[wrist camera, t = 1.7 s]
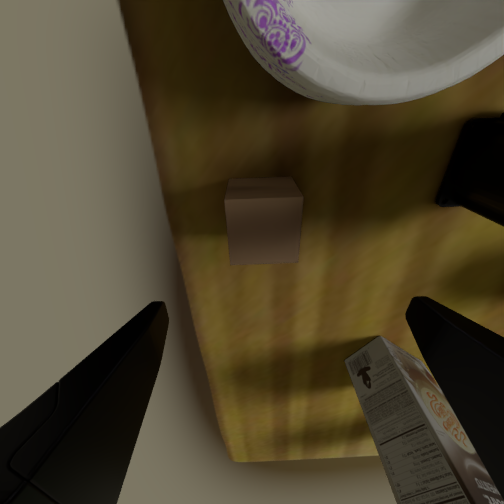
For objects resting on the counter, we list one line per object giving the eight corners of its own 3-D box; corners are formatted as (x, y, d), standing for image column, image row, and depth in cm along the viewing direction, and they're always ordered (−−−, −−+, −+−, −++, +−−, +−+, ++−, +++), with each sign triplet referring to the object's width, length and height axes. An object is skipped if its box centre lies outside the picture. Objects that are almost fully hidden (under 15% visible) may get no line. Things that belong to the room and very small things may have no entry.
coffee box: (423, 359, 32) (553, 547, 19) (384, 382, 35) (473, 561, 21) (379, 333, 29) (494, 533, 16) (340, 360, 32) (410, 551, 18)
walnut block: (288, 231, 22) (298, 262, 18) (233, 233, 22) (230, 265, 18) (291, 176, 20) (303, 196, 15) (229, 178, 20) (224, 199, 15)
